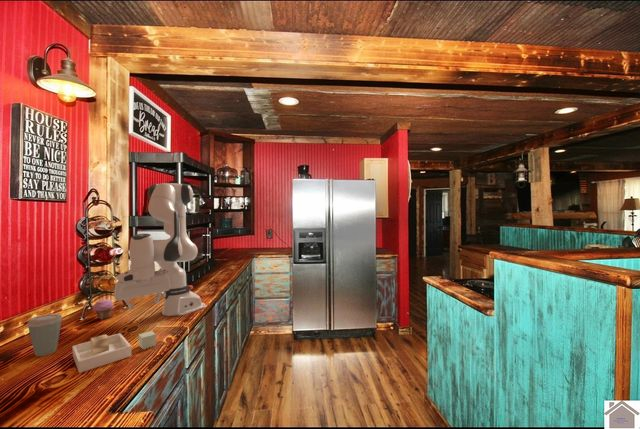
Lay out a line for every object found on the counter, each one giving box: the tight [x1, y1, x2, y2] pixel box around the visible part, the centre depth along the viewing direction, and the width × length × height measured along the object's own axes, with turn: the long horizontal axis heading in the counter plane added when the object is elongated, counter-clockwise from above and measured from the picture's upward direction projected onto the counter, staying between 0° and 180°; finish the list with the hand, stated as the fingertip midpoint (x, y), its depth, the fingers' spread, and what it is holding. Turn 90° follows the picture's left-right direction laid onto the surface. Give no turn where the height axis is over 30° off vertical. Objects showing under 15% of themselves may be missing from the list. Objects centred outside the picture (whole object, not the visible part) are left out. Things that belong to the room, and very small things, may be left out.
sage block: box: [138, 330, 157, 350], centre depth 124 cm, size 5×5×5 cm
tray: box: [72, 332, 132, 373], centre depth 117 cm, size 16×18×4 cm
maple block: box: [90, 333, 109, 354], centre depth 119 cm, size 5×5×5 cm
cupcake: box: [92, 298, 115, 320], centre depth 159 cm, size 9×9×10 cm
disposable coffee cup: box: [26, 313, 63, 357], centre depth 120 cm, size 11×11×15 cm
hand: (144, 305), depth 124 cm, fingers open, 8 cm apart
